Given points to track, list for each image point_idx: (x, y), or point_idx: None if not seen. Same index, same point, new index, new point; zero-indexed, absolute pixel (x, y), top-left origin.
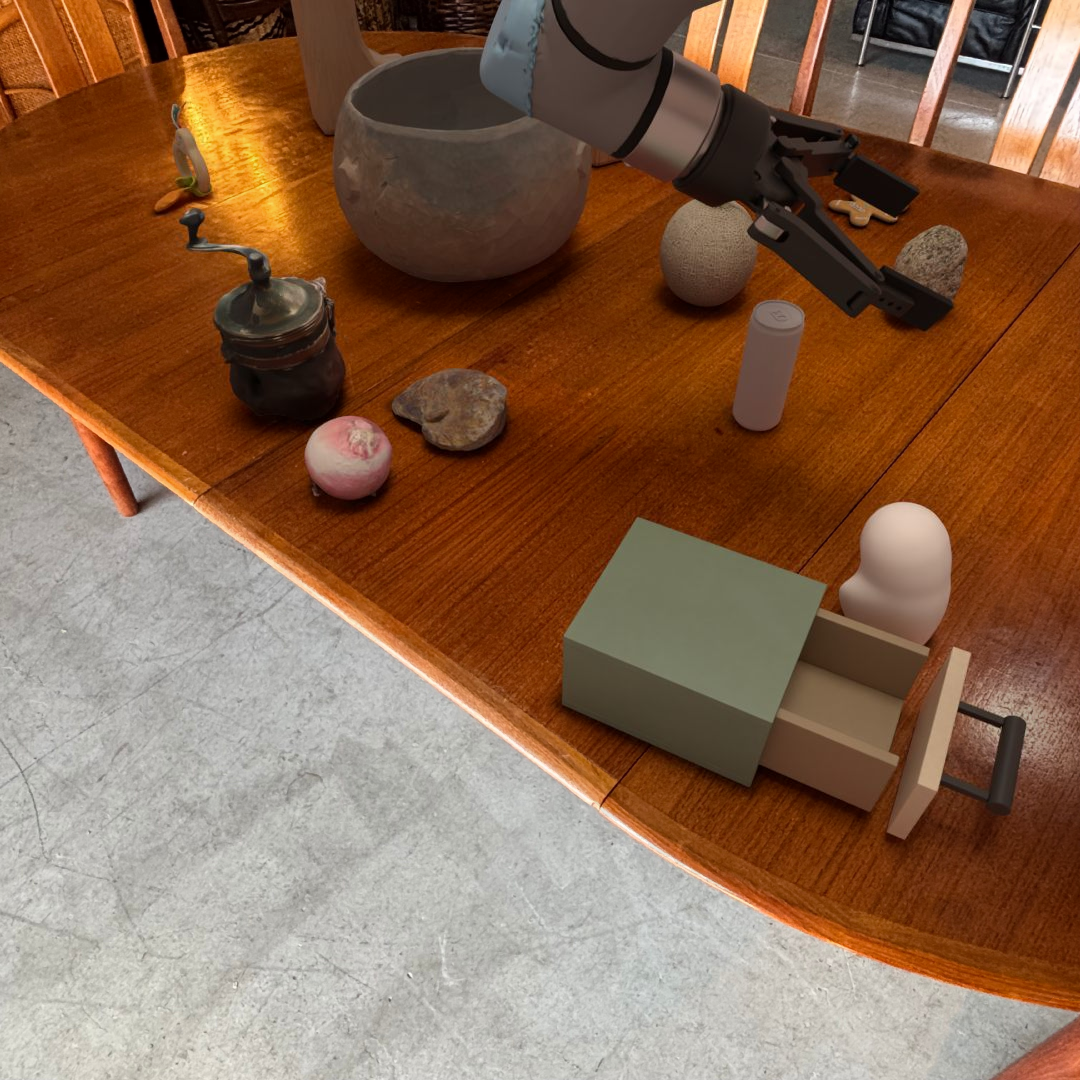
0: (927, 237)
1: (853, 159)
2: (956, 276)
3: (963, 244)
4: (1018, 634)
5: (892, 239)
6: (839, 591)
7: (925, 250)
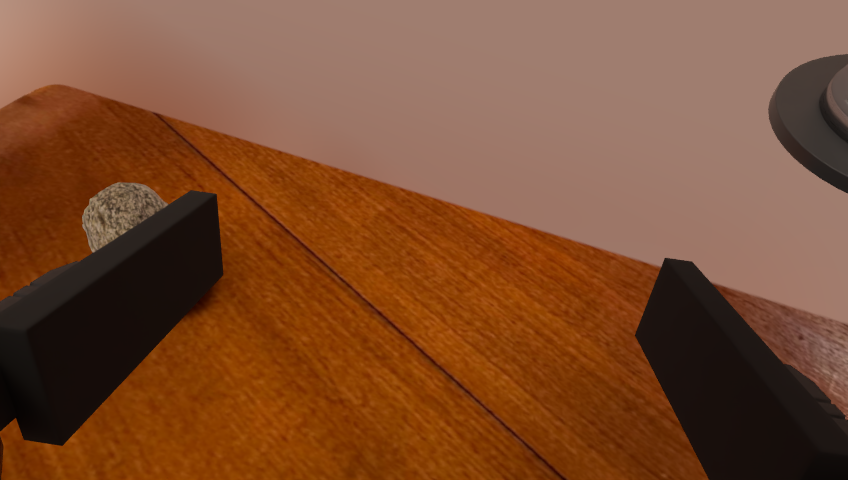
0: (110, 222)
1: (10, 347)
2: None
3: (143, 187)
4: None
5: (22, 258)
6: None
7: None
